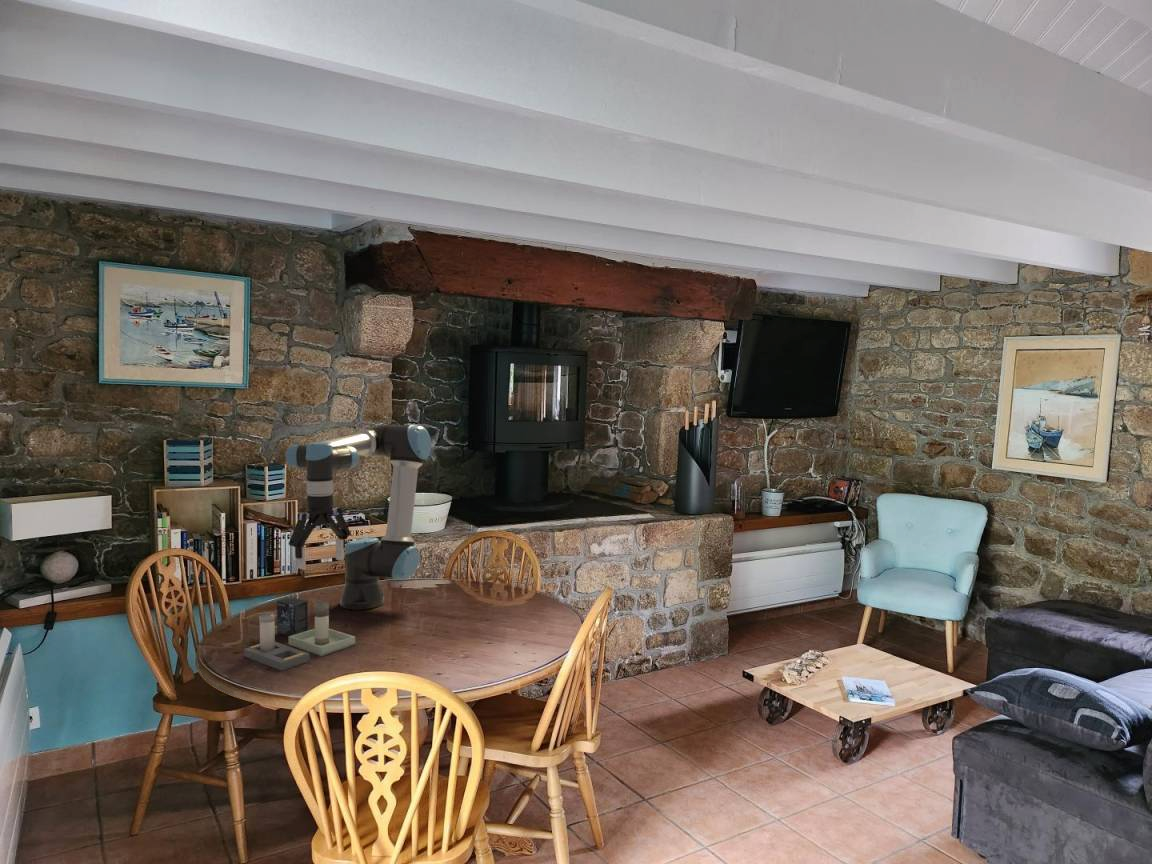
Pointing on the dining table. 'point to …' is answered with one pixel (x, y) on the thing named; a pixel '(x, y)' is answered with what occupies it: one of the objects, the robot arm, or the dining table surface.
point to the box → (292, 616)
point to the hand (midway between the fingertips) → (321, 564)
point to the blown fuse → (321, 623)
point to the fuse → (267, 631)
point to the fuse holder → (278, 656)
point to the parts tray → (308, 644)
